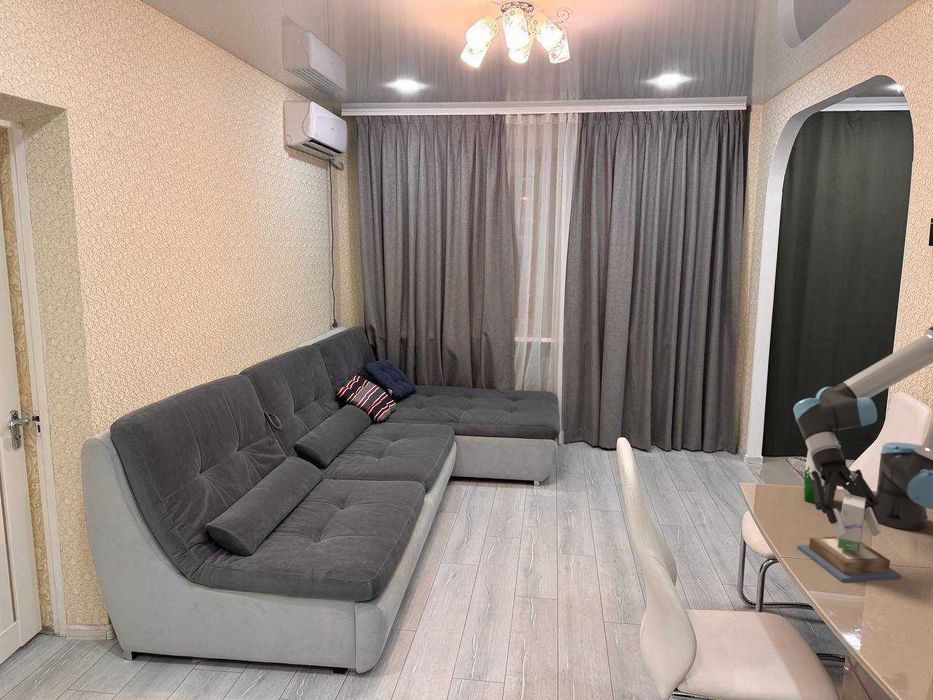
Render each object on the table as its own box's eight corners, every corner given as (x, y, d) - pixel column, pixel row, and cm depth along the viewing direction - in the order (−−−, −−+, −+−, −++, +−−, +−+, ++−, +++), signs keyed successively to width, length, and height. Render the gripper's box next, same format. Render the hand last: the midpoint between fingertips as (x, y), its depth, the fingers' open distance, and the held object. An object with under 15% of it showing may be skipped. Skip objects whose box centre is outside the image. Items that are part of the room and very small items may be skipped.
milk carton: (832, 508, 212) (838, 445, 208) (800, 501, 217) (806, 439, 214) (837, 499, 218) (843, 439, 215) (806, 493, 224) (812, 433, 220)
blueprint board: (852, 545, 186) (852, 542, 186) (901, 578, 168) (902, 575, 168) (797, 548, 184) (797, 545, 184) (841, 581, 166) (841, 578, 166)
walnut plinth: (850, 546, 184) (852, 535, 183) (888, 571, 170) (890, 559, 169) (808, 548, 182) (810, 537, 182) (843, 574, 168) (845, 561, 168)
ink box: (859, 552, 171) (864, 507, 169) (837, 547, 173) (842, 503, 171) (861, 540, 178) (866, 496, 176) (839, 535, 180) (844, 492, 178)
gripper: (855, 458, 189) (890, 538, 176) (781, 460, 186) (812, 541, 173) (870, 445, 183) (908, 527, 170) (795, 447, 180) (827, 531, 167)
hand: (859, 534), depth 171 cm, fingers closed on ink box, 9 cm apart
